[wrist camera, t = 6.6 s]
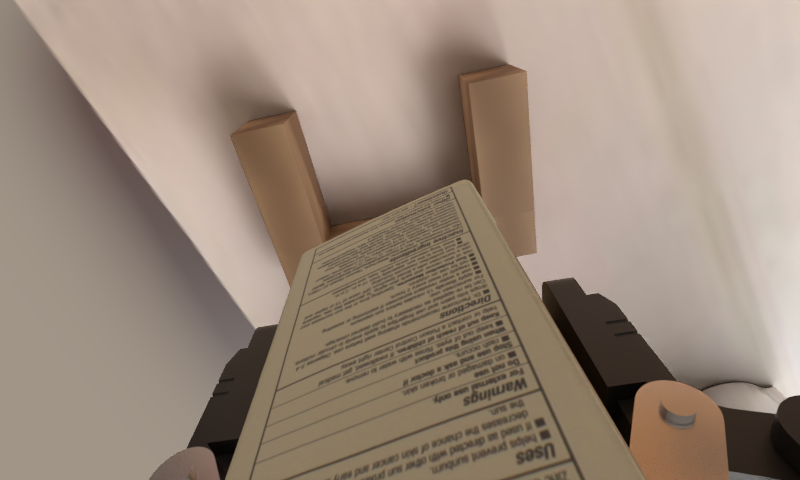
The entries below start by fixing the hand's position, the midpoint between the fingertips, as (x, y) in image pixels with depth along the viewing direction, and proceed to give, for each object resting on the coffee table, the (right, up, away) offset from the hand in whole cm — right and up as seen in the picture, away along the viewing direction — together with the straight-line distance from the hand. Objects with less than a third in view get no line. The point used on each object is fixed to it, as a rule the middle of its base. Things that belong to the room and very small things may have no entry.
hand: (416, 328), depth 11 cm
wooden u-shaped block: (-1, +6, +17) cm, 18 cm away
